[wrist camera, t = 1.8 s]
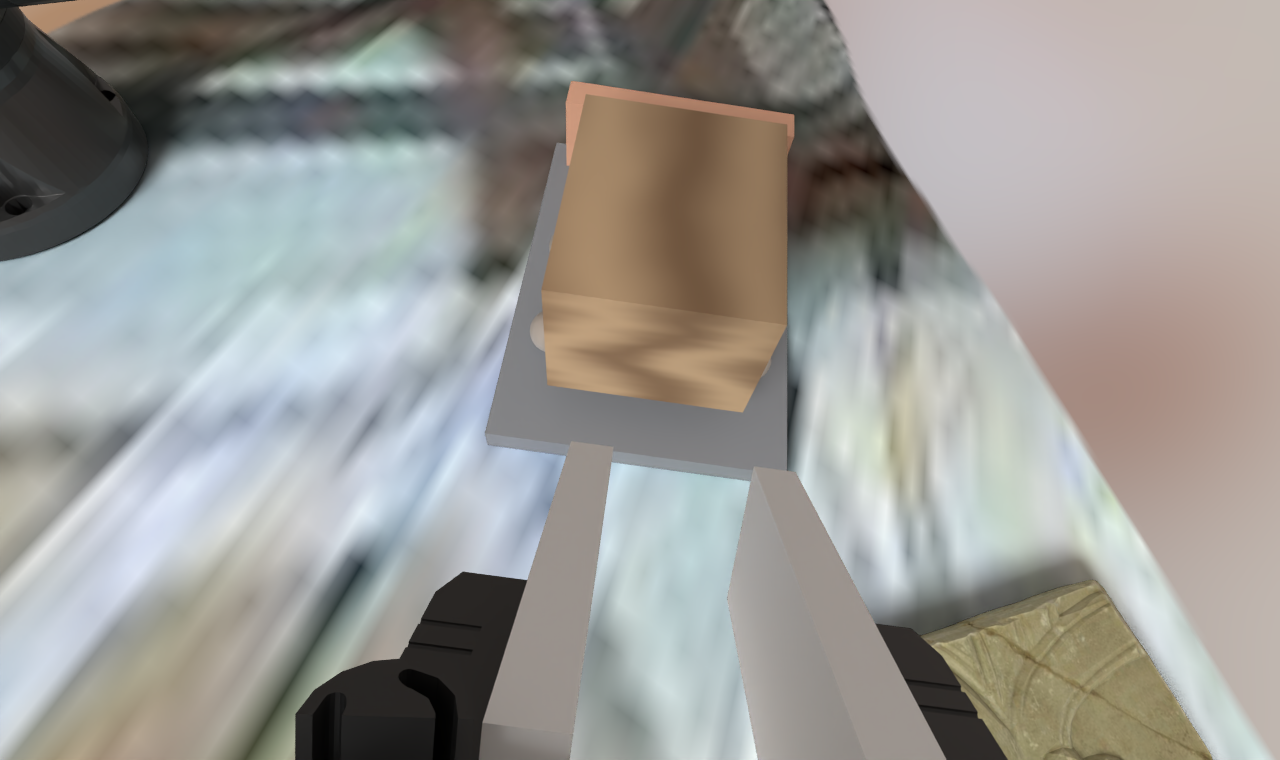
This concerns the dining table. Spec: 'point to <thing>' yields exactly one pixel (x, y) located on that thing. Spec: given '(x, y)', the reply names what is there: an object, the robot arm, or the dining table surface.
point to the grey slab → (627, 423)
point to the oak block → (667, 256)
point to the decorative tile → (1066, 681)
